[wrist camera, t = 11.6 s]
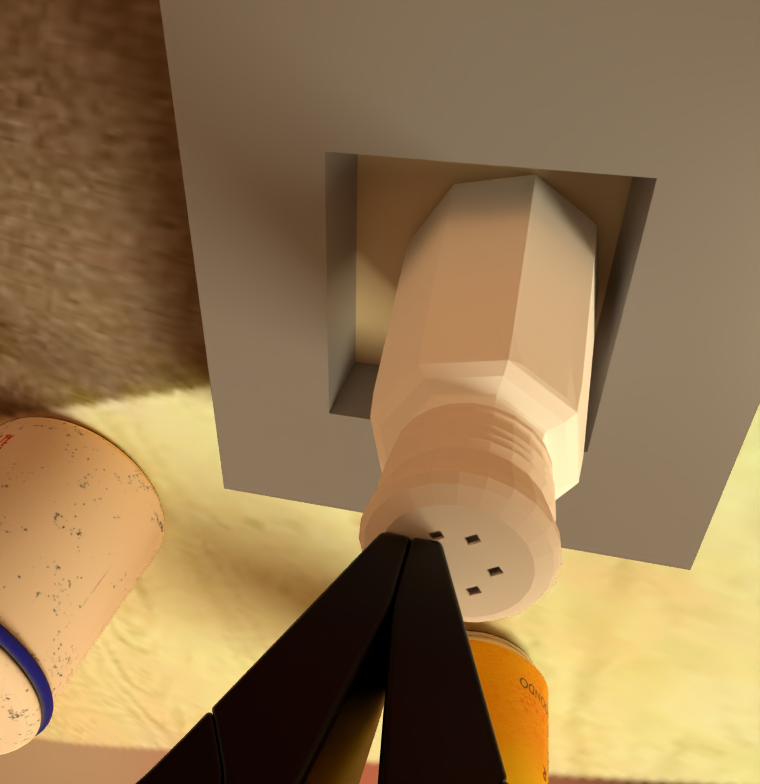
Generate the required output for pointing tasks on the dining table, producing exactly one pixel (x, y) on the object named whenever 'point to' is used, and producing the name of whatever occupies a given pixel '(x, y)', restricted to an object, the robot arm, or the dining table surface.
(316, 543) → the dining table surface
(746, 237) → the socket block
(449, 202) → the pepper shaker
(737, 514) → the dining table surface
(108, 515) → the teacup with lid
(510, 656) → the beer can
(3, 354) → the dining table surface
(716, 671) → the dining table surface
